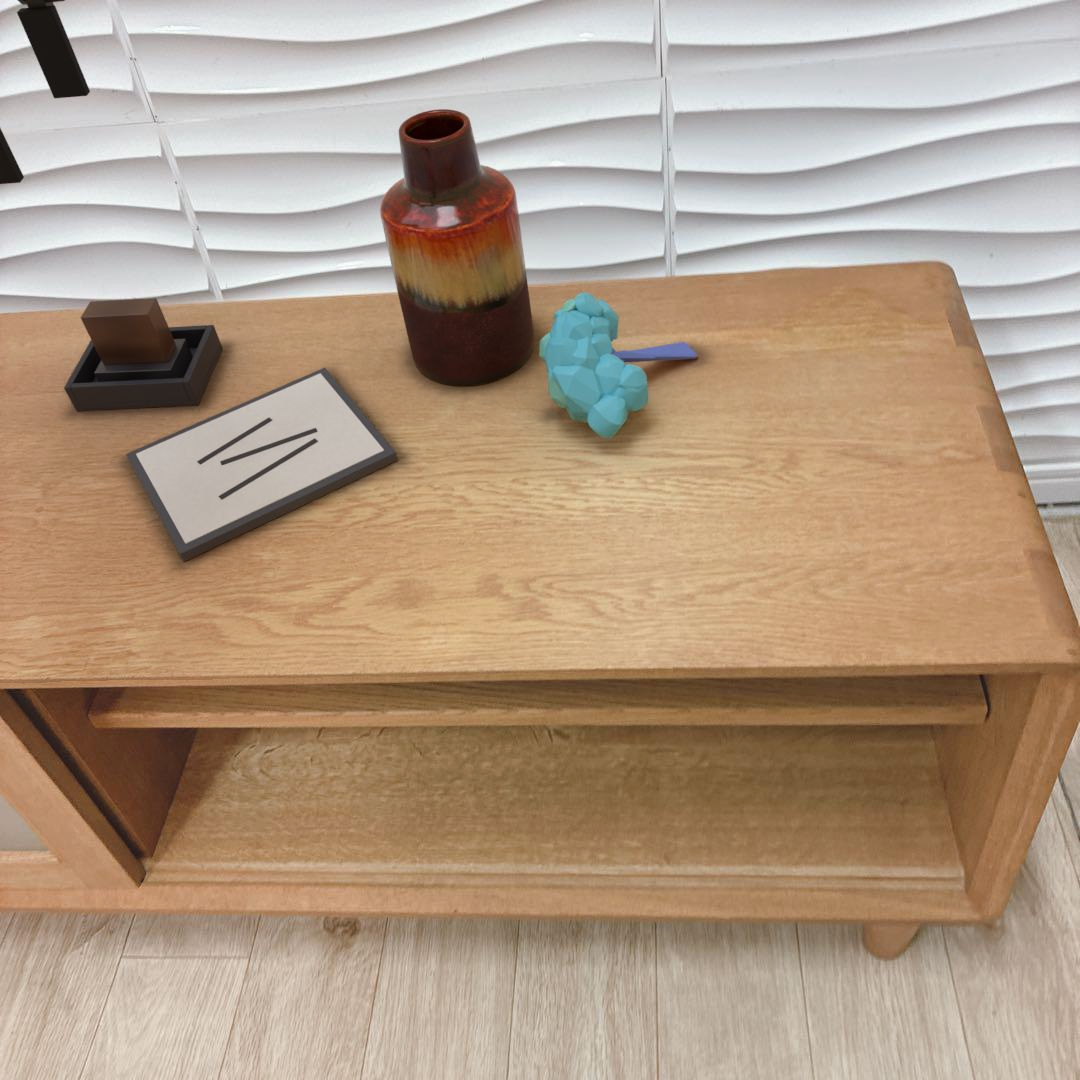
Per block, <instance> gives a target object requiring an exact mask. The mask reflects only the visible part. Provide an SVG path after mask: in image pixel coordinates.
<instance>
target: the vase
mask: <svg viewBox="0 0 1080 1080" xmlns="http://www.w3.org/2000/svg"><path fill="white" fill-rule="evenodd" d="M398 142H399V147H400V148H399V149H400V155H401V164H402V171H403V177H402V178H401V179H399V180H398V181H396V182H395V183H394V184H392V186H391V187H390V188H388V190H387V191H386V192H385V194H384V195H383V197H382V199H381V202H380V205H379V206H380V207H379V214H380V220H381V224H382V229H383V233H384V239H385V243H386V247H387V251H388V256H389V259H390V264H391V269H392V273H393V274H392V275H393V278H394V282H395V287H396V291H397V295H398V300H399V304H400V309H401V314H402V317H403V321H404V327H405V330H406V334H407V339H408V344H409V347H410V351H411V357H412V359H413V362H414V365H415V367H416V368H417V369H418V371H419V372H420V373H421V374H422V375H424V376H425V377H426V378H428V379H430V380H431V381H434V382H437V383H439V384H444V385H448V386H457V387H469V386H479V385H483V384H489V383H492V382H495V381H498V380H501V379H504V378H505V377H507V376H509V375H511V374H513V373H515V372H516V371H517V370H519V369H520V368H521V367H522V366H523V365H524V364H525V363H526V362H527V361H528V360H529V358H530V357H531V355H532V353H533V350H534V346H535V332H534V325H533V315H532V309H531V300H530V292H529V286H528V277H527V276H528V275H527V269H526V261H525V253H524V246H523V240H522V239H523V238H522V230H521V223H520V214H519V208H518V200H517V192H516V189H515V186H514V184H513V183H512V182H511V180H510V179H509V178H508V176H507V175H505V174H504V173H502V171H500V170H498V169H496V168H494V167H491V166H488V165H483V164H481V162H480V158H479V153H478V149H477V144H476V140H475V136H474V132H473V127H472V123H471V120H470V117H469V116H468V115H466V113H463V112H462V111H458V110H455V109H449V108H446V109H445V108H439V109H430V110H426V111H422V112H419V113H417V114H414V115H412V116H409V117H408V118H407V119H405V120H404V121H403V122H402V123H401V124H400V126H399V129H398Z"/></svg>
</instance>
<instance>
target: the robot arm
mask: <svg viewBox="0 0 1080 1080" xmlns="http://www.w3.org/2000/svg"><path fill="white" fill-rule="evenodd" d="M17 1H18V2H19V3H20V4H21V5H23V6H27V7H21V8H19V10H18V11H16V14H17V16H18V18H19V19H18V20H19V21H20V23H21V26H22V28H23V30H24V32H25V34H26V37H27V39H28V41H29V44H30V46H31V49H32V51H33V53H34V55H35V57H36V61H37V62H38V65H39V67H40V69H41V71H42V74H43V76H44V78H45V81H46V83H47V85H48V88H49V89H50V92H51V94H52V97H53V99H65V98H66V99H67V98H75V97H87V96H88V95H89V94H90V92H91V90H90V88H89V85H88V83H87V81H86V78H85V76H84V73H83V71H82V68H81V66H80V63H79V61H78V58H77V56H76V53H75V51H74V48H73V47H72V44H71V41H70V39H69V36H68V34H67V31H66V29H65V27H64V25H63V21H62V19H61V17H60V15H59V12H58V10H57V7H56V5H55V4H54V3H58V2H59V3H60V2H65V1H66V0H17ZM24 178H25V176H24V174H23V171H22V170H21V168H20V166H19V164H18V162H17V159H16V158H15V155H14V153H13V151H12V149H11V147H10V145H9V143H8V141H7V138H6V137H5V134H4V132H3V131H2V129H1V127H0V185H5V184H7V185H8V184H20V183H21V182H22V181H23V180H24Z"/></svg>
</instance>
